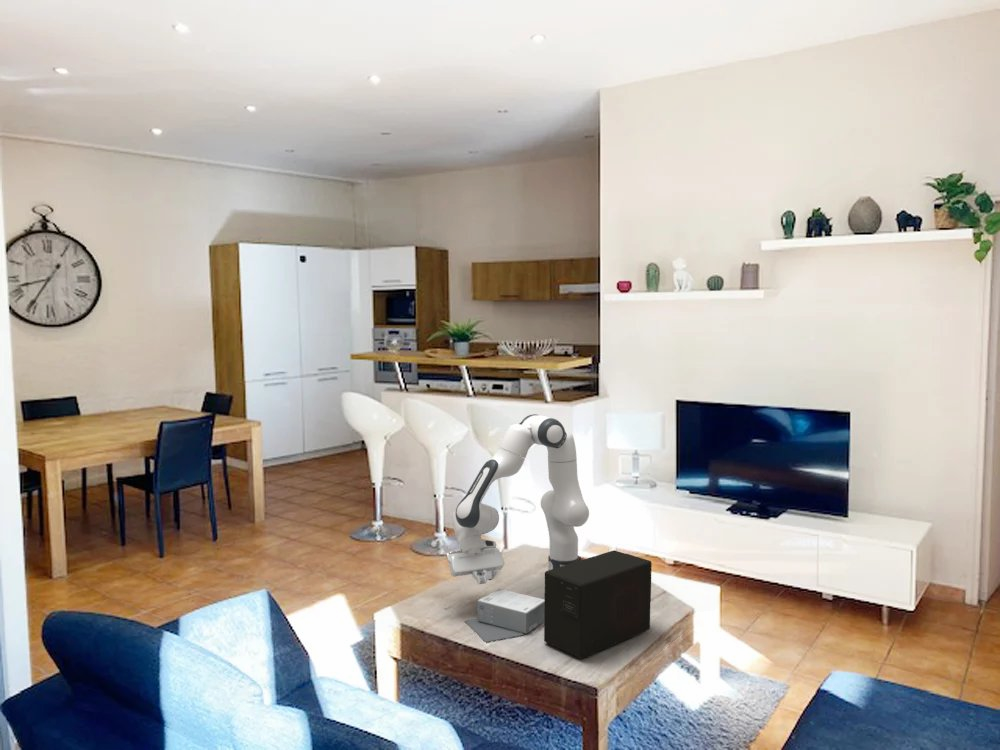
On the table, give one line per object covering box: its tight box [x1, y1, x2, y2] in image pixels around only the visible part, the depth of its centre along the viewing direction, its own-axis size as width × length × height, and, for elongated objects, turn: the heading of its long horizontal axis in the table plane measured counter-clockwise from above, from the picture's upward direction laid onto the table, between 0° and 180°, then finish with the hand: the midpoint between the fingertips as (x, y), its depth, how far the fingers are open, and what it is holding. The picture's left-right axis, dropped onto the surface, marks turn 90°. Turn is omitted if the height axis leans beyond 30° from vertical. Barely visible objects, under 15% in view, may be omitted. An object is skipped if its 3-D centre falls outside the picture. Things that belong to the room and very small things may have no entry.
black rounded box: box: [543, 549, 653, 660], centre depth 260 cm, size 38×20×25 cm, turn 131°
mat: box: [464, 618, 525, 643], centre depth 267 cm, size 14×19×1 cm
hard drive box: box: [476, 588, 545, 635], centre depth 273 cm, size 16×8×20 cm
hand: (482, 583), depth 275 cm, fingers closed
